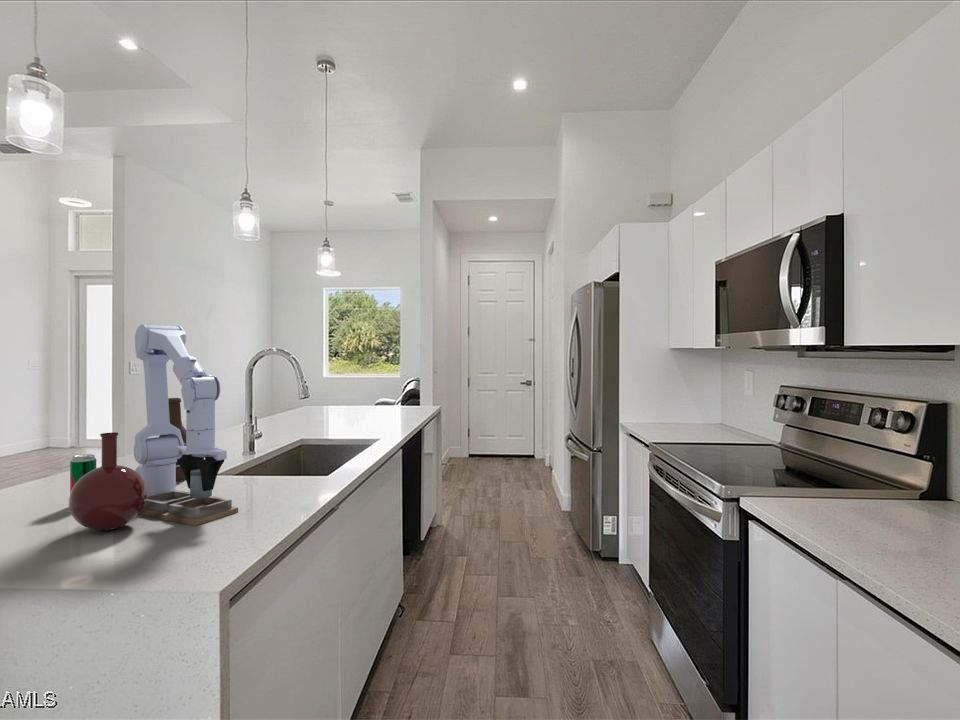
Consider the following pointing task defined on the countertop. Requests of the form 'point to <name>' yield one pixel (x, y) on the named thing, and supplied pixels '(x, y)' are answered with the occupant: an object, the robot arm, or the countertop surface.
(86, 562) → the countertop surface
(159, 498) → the caddy
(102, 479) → the round-bottom flask
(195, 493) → the grey plastic cylinder
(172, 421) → the beer bottle
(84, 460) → the soda can
